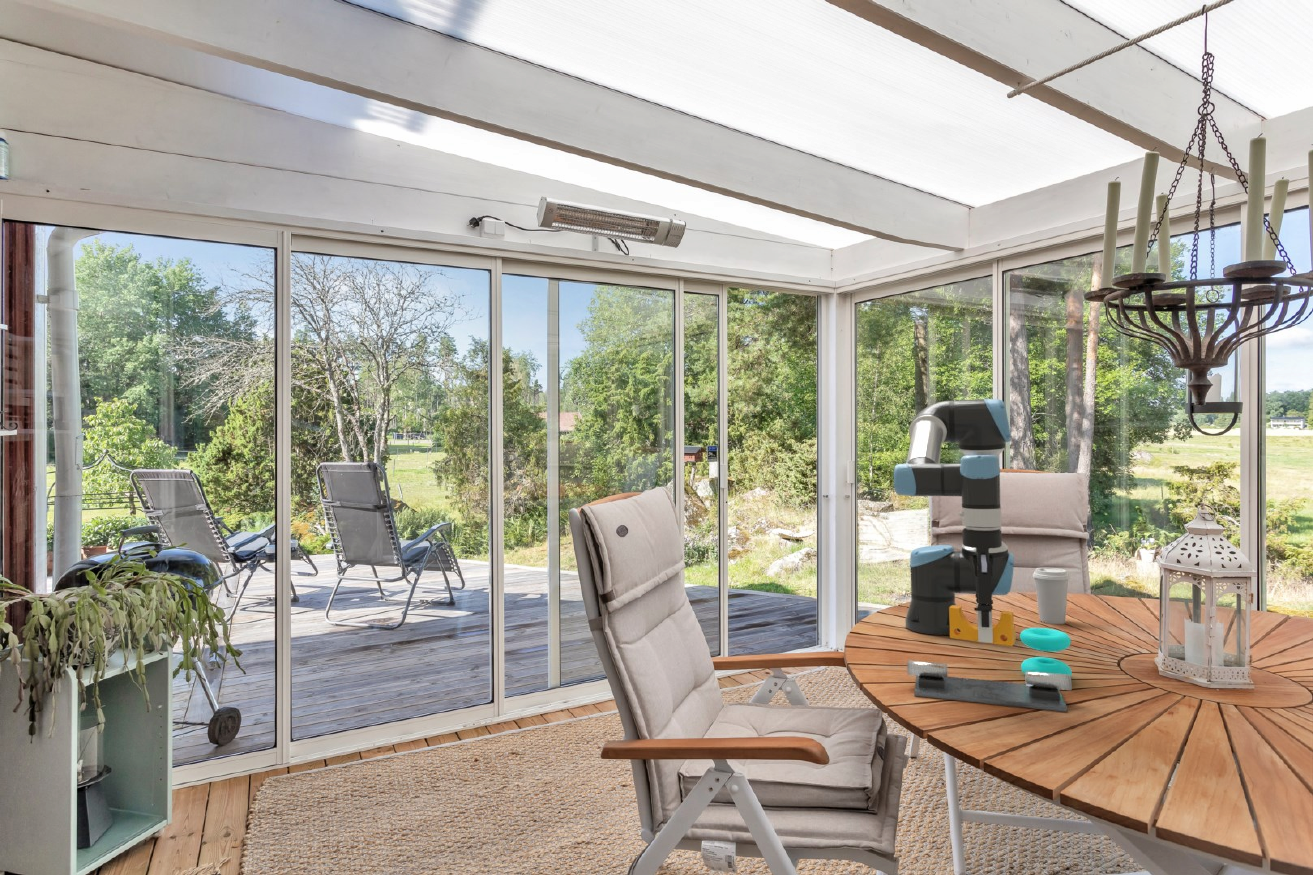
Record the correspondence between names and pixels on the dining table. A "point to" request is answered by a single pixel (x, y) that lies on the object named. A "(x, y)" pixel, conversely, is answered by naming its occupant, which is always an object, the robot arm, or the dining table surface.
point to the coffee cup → (1051, 594)
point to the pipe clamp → (971, 631)
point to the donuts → (1045, 642)
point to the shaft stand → (991, 688)
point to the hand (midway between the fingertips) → (984, 638)
